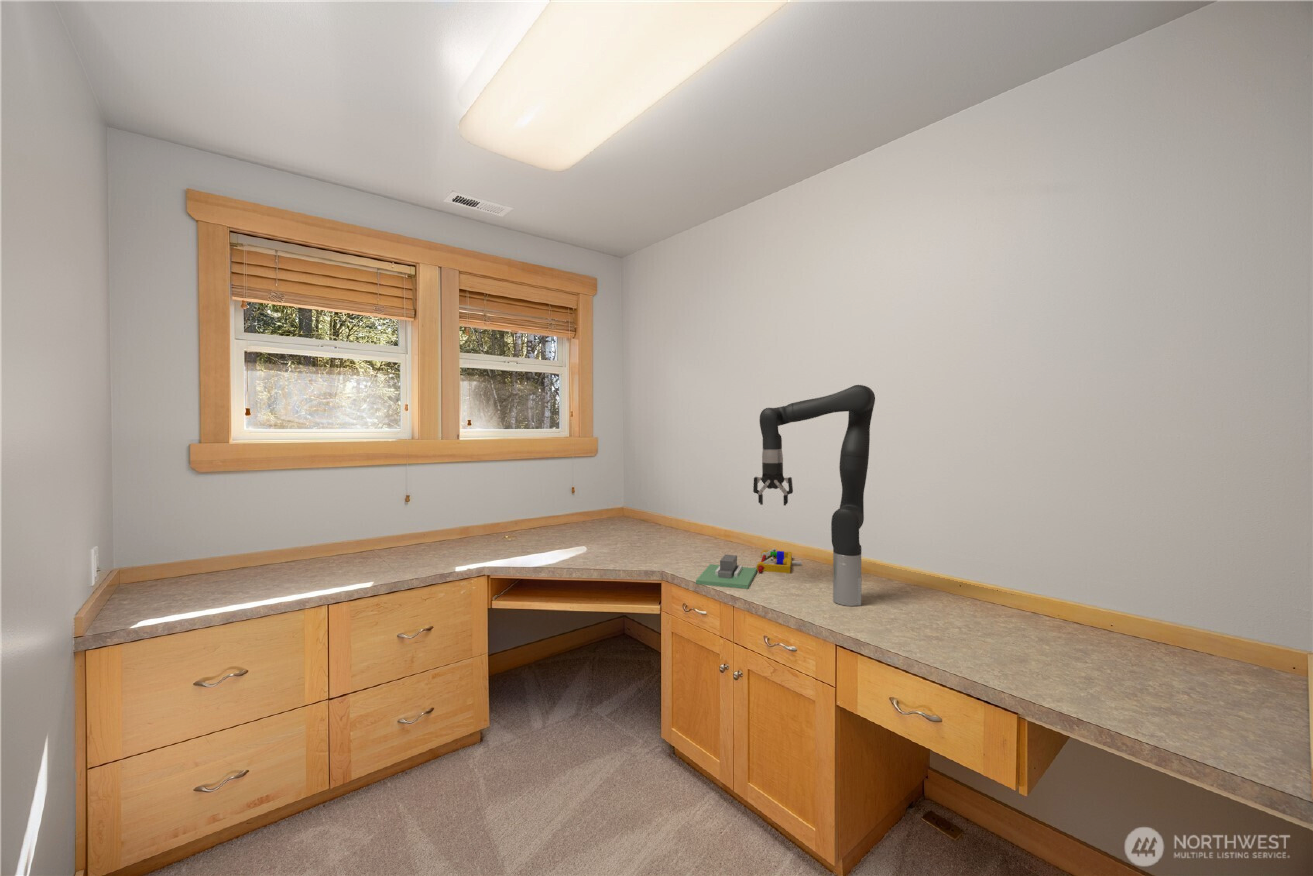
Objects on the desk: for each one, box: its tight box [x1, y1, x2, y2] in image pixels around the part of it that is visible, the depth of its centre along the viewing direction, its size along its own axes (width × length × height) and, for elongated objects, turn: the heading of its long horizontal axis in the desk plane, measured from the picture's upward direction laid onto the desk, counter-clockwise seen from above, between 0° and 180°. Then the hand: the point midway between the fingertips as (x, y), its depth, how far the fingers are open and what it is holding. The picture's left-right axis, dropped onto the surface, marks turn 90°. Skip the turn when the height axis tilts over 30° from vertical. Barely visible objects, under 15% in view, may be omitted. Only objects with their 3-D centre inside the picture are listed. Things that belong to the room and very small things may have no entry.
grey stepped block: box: [718, 554, 738, 579], centre depth 214 cm, size 13×5×6 cm, turn 161°
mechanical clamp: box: [755, 547, 803, 574], centre depth 231 cm, size 18×6×30 cm
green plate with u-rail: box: [695, 563, 758, 590], centre depth 213 cm, size 20×24×3 cm
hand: (773, 504), depth 197 cm, fingers open, 8 cm apart
